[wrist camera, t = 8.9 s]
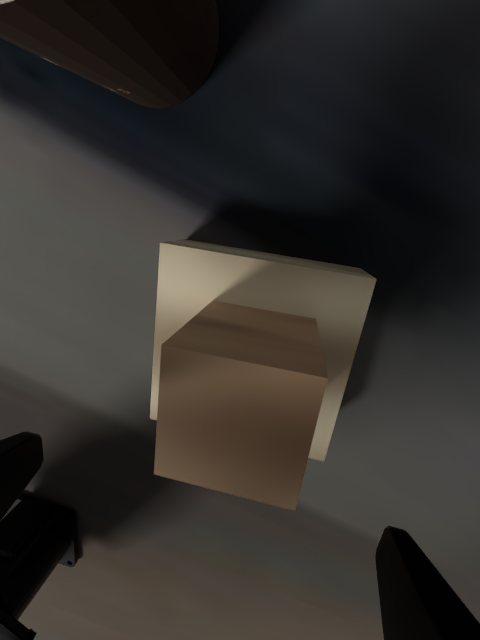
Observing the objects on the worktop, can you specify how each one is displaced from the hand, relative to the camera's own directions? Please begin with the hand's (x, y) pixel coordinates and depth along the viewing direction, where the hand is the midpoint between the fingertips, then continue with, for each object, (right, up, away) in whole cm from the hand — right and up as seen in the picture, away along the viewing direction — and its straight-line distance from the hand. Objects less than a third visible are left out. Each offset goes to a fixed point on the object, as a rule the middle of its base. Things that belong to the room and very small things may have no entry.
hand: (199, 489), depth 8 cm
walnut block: (+2, +2, +8) cm, 8 cm away
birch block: (+2, +3, +12) cm, 12 cm away
